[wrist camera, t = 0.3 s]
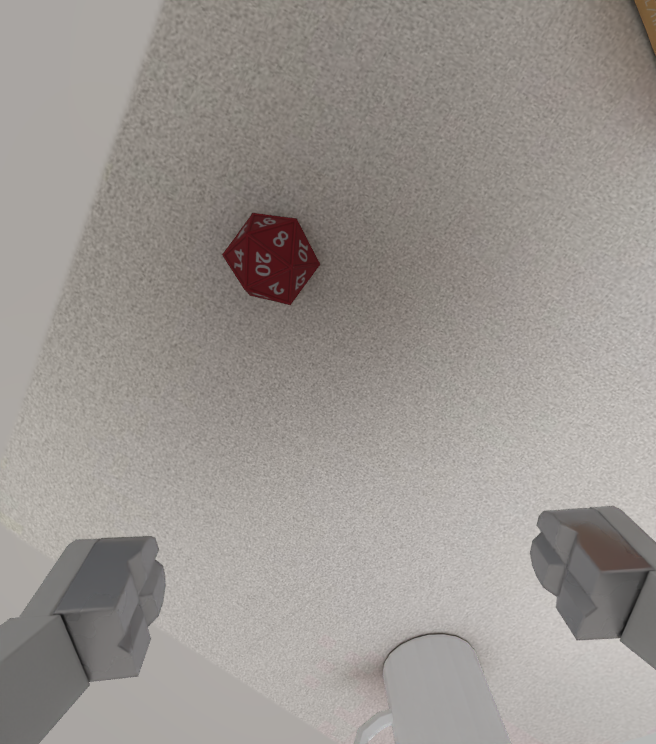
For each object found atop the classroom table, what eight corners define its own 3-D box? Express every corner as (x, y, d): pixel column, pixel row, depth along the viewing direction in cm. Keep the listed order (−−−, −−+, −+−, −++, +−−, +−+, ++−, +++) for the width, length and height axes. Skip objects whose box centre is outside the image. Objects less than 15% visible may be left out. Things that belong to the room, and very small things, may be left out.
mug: (338, 637, 32) (354, 809, 23) (483, 630, 33) (554, 794, 24) (334, 697, 35) (346, 870, 26) (466, 690, 36) (523, 854, 27)
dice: (229, 209, 19) (213, 209, 15) (322, 219, 19) (327, 222, 16) (228, 287, 20) (213, 305, 17) (314, 295, 21) (318, 315, 17)
